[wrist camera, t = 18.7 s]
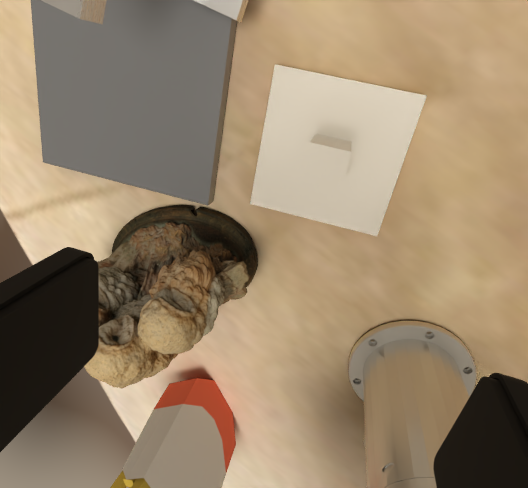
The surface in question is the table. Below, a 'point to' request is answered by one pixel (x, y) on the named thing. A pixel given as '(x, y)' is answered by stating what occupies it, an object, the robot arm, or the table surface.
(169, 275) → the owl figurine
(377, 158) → the cover
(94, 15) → the t key
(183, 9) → the base
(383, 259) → the table surface
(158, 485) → the french fries container
